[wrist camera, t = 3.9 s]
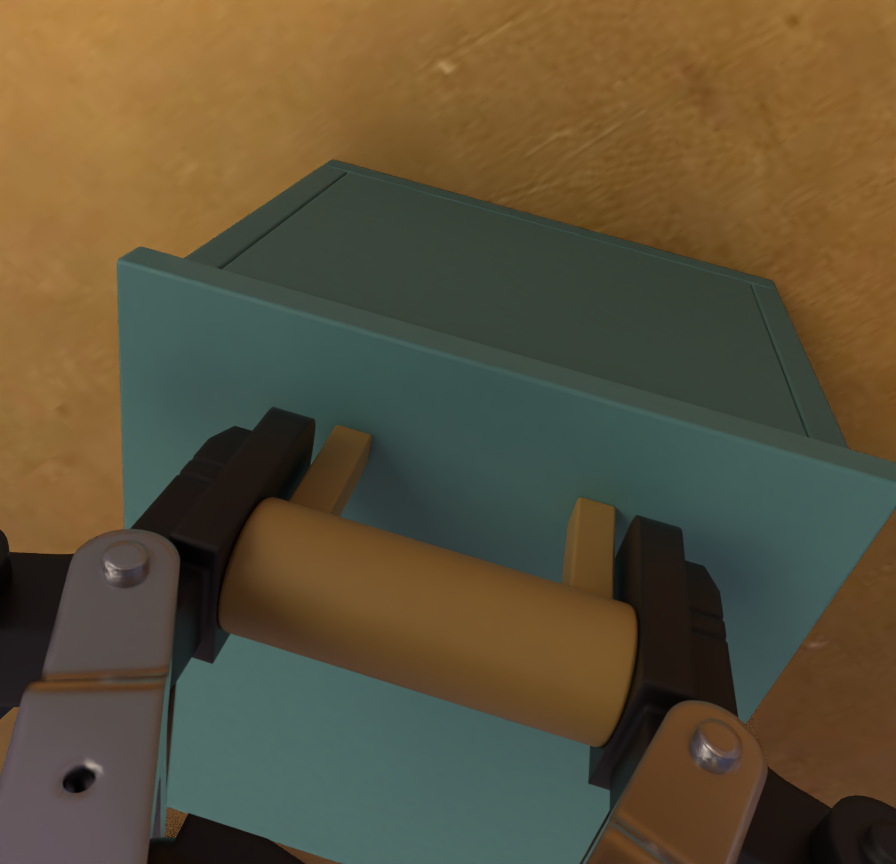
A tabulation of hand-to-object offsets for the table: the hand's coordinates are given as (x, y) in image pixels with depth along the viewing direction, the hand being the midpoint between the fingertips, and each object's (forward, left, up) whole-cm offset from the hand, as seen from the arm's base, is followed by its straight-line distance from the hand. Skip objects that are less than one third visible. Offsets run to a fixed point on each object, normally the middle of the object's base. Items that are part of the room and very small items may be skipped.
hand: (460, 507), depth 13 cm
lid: (+4, -4, -2) cm, 6 cm away
